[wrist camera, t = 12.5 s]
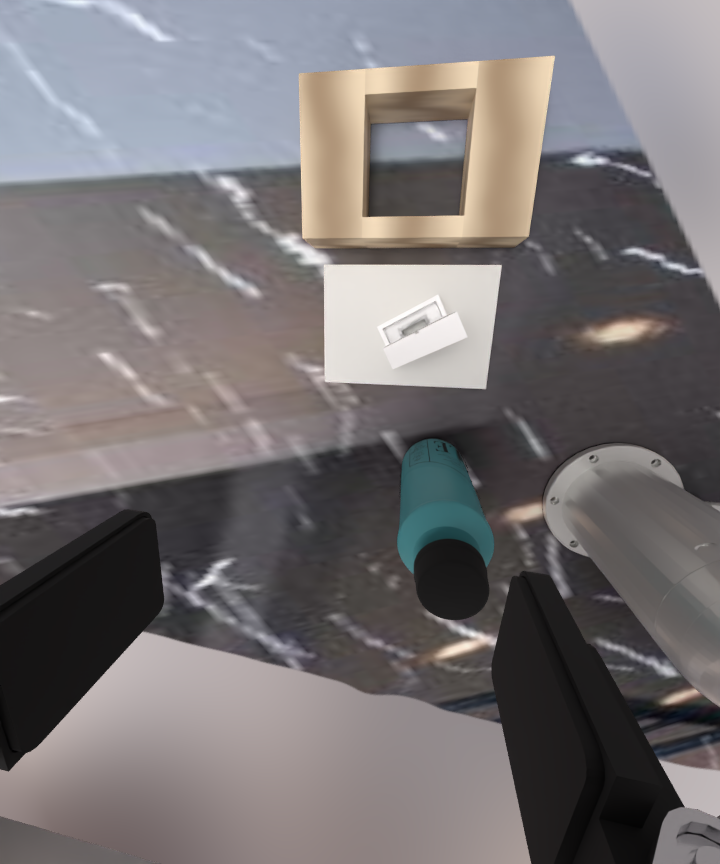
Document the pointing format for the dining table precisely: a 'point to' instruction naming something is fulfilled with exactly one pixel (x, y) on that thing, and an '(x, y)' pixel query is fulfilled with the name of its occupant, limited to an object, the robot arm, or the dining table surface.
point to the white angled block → (420, 332)
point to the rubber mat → (393, 295)
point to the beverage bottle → (443, 531)
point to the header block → (413, 102)
